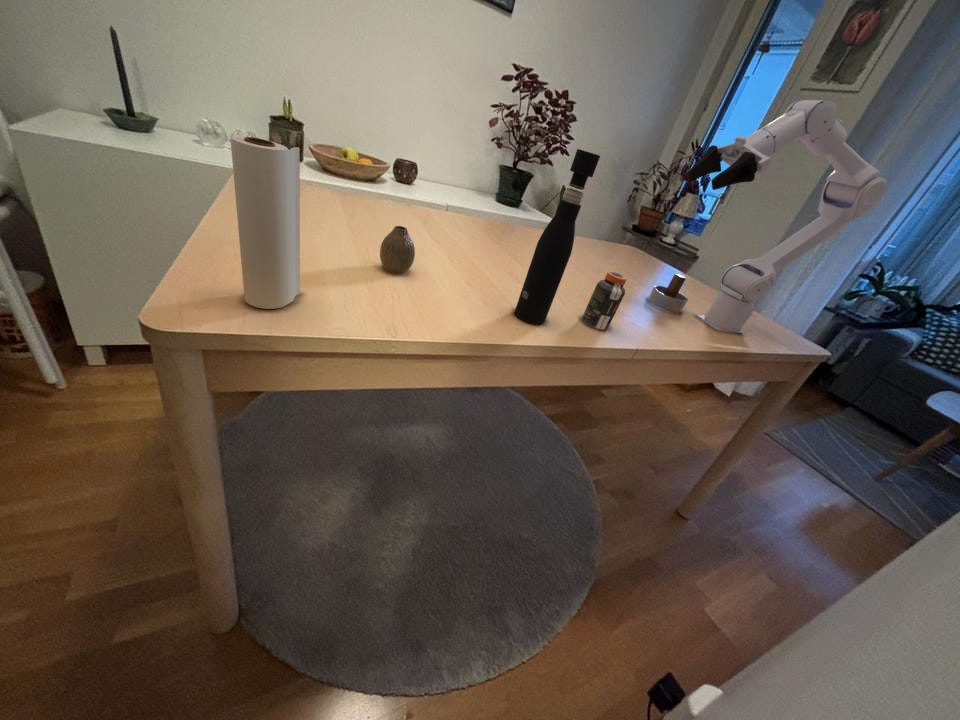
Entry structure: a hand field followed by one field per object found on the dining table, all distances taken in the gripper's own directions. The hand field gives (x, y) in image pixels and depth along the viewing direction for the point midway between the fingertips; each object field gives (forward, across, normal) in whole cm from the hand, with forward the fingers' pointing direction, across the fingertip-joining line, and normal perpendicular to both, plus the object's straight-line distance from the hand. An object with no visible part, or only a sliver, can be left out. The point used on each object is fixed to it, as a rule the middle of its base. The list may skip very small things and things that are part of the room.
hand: (700, 180), depth 79 cm
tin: (+10, -7, +33) cm, 35 cm away
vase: (+64, -2, -18) cm, 66 cm away
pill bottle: (+33, +11, +11) cm, 36 cm away
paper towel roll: (+77, +18, -31) cm, 85 cm away
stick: (+10, -7, +33) cm, 35 cm away
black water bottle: (+45, +12, 0) cm, 46 cm away
